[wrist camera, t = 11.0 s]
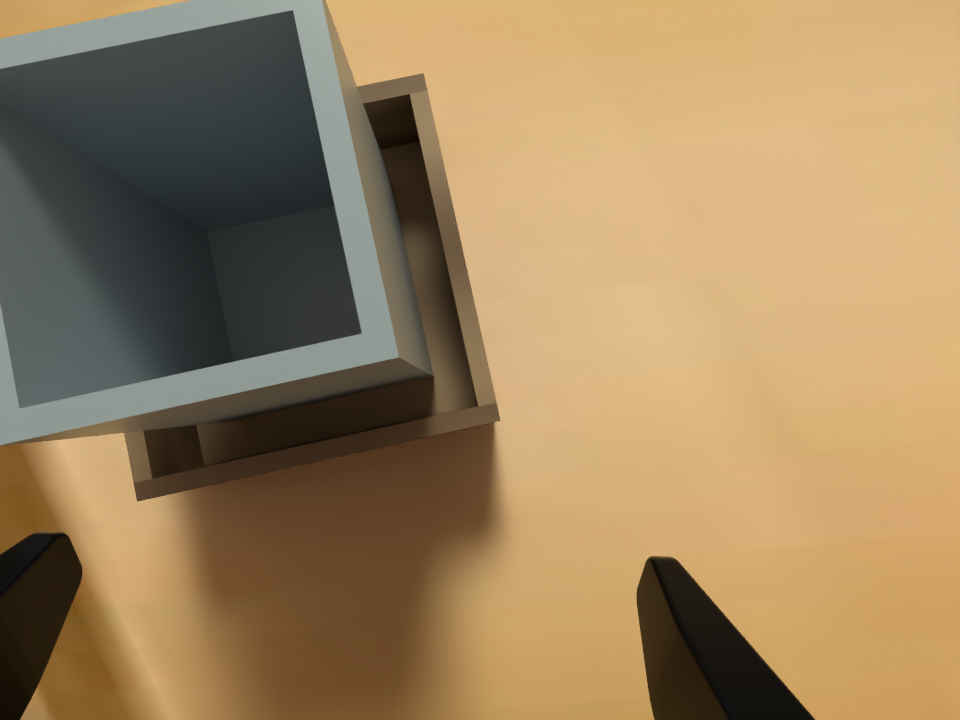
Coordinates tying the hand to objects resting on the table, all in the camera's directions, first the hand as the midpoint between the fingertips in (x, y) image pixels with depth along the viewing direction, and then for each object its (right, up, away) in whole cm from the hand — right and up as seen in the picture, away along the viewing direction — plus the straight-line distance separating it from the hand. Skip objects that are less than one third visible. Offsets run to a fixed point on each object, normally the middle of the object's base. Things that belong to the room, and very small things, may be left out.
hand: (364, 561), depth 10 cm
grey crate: (-3, +5, +10) cm, 12 cm away
